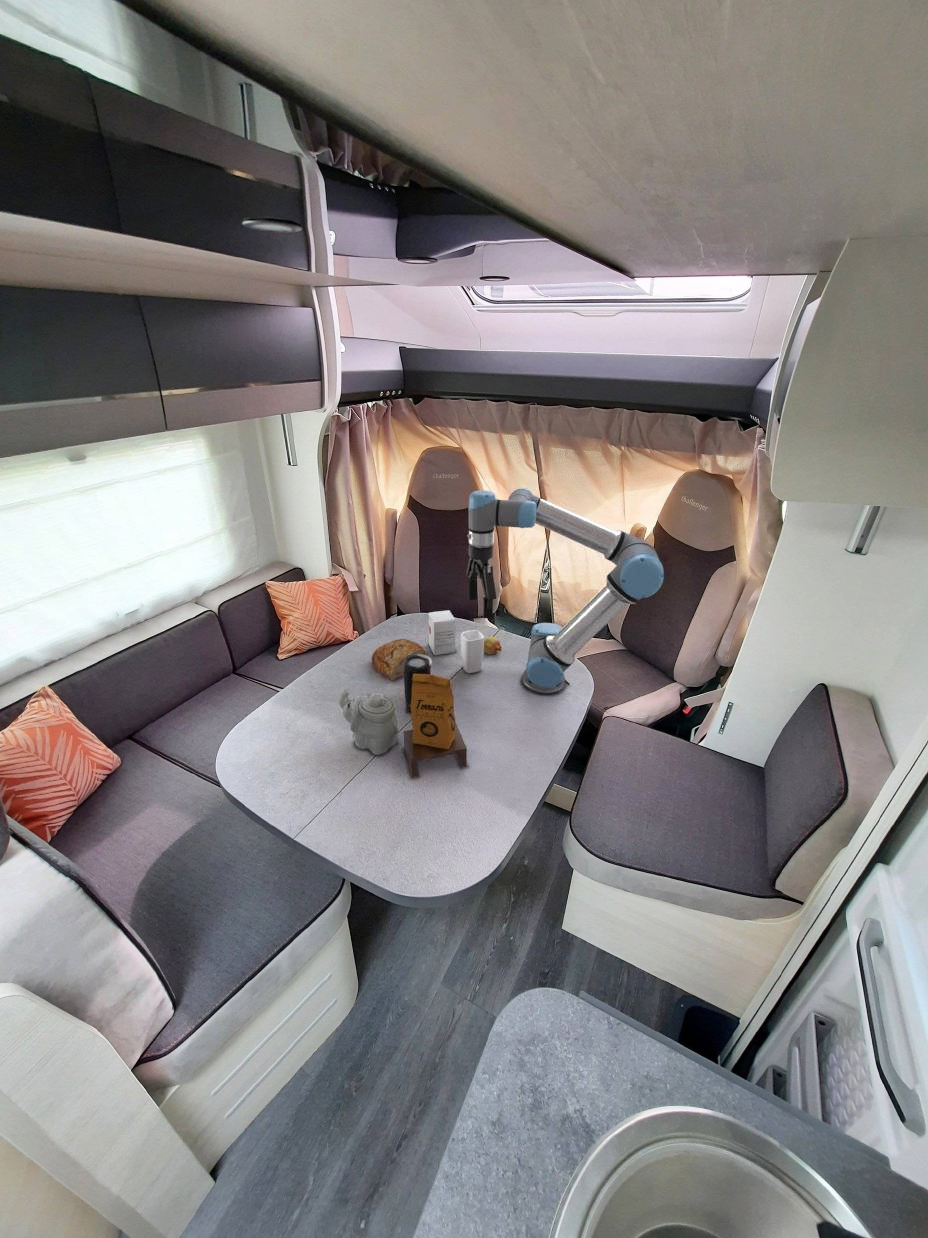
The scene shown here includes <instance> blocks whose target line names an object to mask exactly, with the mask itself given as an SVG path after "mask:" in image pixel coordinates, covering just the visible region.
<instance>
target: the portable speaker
mask: <svg viewBox="0 0 928 1238" xmlns="http://www.w3.org/2000/svg"><path fill="white" fill-rule="evenodd" d="M429 664H430V663H429V660H428V659H427V658H424V657H421V656H418V655H412V656H409V657H407V659H406V661H405V664H404V675H403V687H404V688H403V689H404V690H403V691H404V701H405V709H406V713H408V714H410V715H411V699H412V684H413V680H412V677H413V674H430V667H429Z"/></svg>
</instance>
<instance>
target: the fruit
mask: <svg viewBox="0 0 928 1238" xmlns="http://www.w3.org/2000/svg"><path fill="white" fill-rule="evenodd" d="M502 648H503V646H502V645H501V641H500V639H498V638H497V637H495V636H489V637H486V638H484V650H483V652H485V653H486V654H488V655H495V654H496V653H497V652H498V653H500V652H502Z"/></svg>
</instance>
